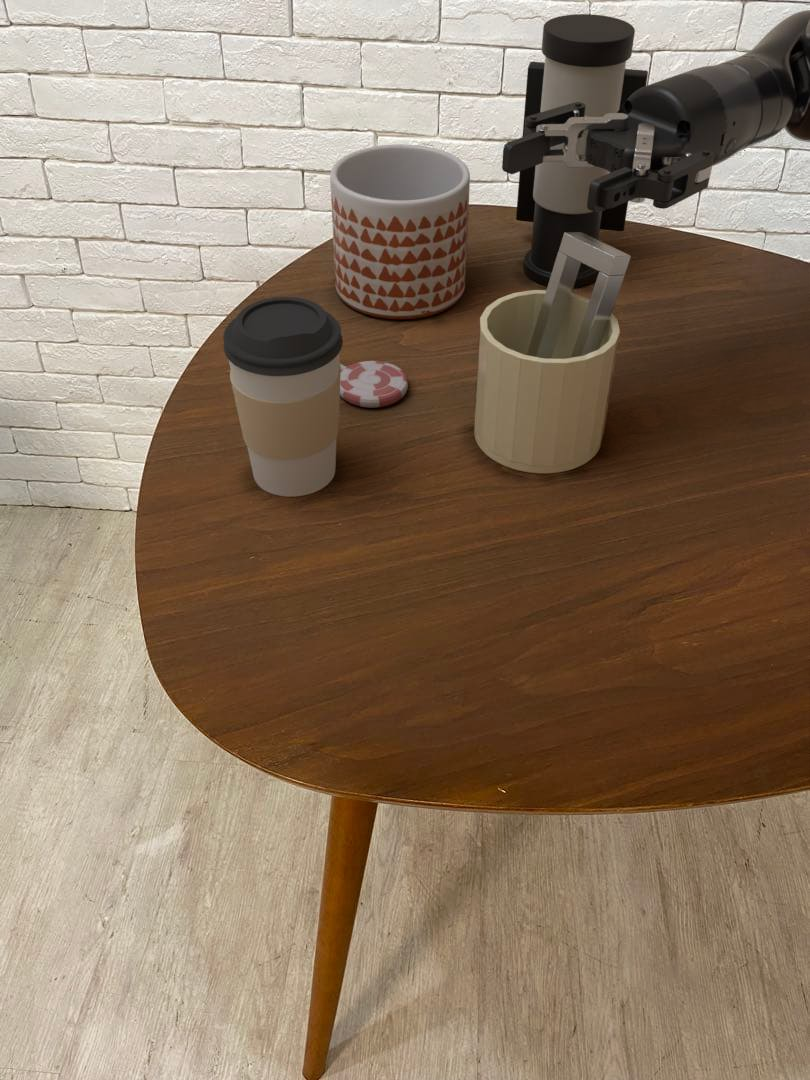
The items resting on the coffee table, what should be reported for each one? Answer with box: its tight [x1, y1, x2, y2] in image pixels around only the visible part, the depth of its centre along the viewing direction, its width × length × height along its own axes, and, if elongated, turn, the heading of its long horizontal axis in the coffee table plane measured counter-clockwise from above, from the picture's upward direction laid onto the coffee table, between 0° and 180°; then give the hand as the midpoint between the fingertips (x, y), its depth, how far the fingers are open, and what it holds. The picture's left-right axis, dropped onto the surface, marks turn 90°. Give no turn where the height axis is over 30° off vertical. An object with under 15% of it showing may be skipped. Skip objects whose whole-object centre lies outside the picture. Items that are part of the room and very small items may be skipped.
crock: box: [473, 289, 621, 474], centre depth 89 cm, size 11×11×11 cm
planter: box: [329, 143, 471, 321], centre depth 107 cm, size 14×14×13 cm
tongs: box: [527, 232, 632, 359], centre depth 88 cm, size 7×2×16 cm, turn 40°
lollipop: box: [339, 360, 409, 409], centre depth 99 cm, size 7×1×15 cm
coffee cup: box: [222, 296, 344, 498], centre depth 83 cm, size 9×9×15 cm
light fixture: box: [515, 13, 649, 289], centre depth 107 cm, size 12×11×25 cm
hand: (547, 178), depth 75 cm, fingers open, 8 cm apart
